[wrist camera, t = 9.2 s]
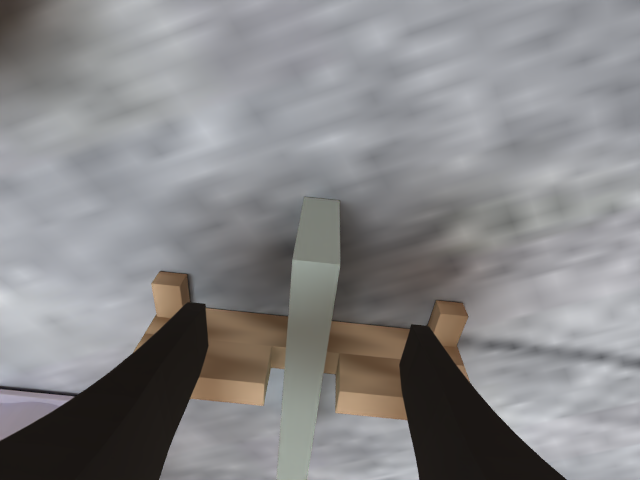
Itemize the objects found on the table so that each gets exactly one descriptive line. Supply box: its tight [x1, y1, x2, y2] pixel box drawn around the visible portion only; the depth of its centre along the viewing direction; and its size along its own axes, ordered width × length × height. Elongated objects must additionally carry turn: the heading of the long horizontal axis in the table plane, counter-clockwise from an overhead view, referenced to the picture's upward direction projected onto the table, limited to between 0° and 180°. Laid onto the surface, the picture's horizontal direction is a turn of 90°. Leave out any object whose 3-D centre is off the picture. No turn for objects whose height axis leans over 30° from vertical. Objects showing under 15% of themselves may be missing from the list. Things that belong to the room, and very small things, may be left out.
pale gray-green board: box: [277, 197, 340, 480], centre depth 19 cm, size 2×16×5 cm, turn 174°
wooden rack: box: [133, 272, 470, 420], centre depth 19 cm, size 16×6×4 cm, turn 84°
